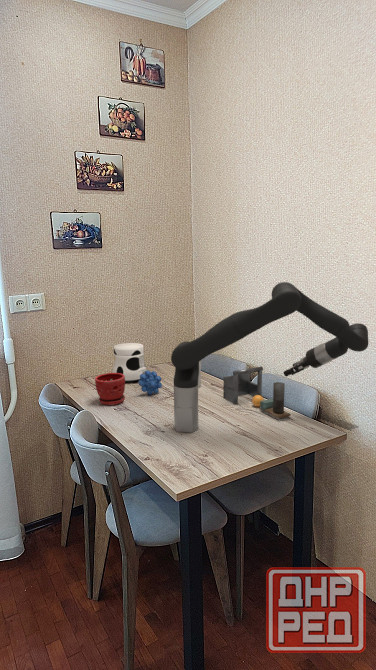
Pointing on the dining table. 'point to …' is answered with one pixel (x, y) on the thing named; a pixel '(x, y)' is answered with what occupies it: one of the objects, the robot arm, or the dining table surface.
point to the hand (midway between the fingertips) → (289, 370)
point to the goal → (242, 384)
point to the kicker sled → (275, 402)
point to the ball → (257, 400)
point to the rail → (276, 417)
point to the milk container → (129, 361)
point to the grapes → (150, 382)
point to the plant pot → (110, 388)
